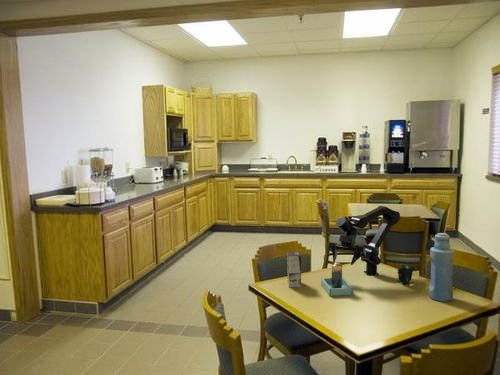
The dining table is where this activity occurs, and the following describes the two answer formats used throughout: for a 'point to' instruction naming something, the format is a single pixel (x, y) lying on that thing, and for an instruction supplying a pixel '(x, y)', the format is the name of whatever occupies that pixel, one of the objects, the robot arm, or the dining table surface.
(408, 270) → the controller
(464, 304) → the dining table surface
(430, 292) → the bottle
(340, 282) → the cylinder
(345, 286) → the tray
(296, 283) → the coffee box
